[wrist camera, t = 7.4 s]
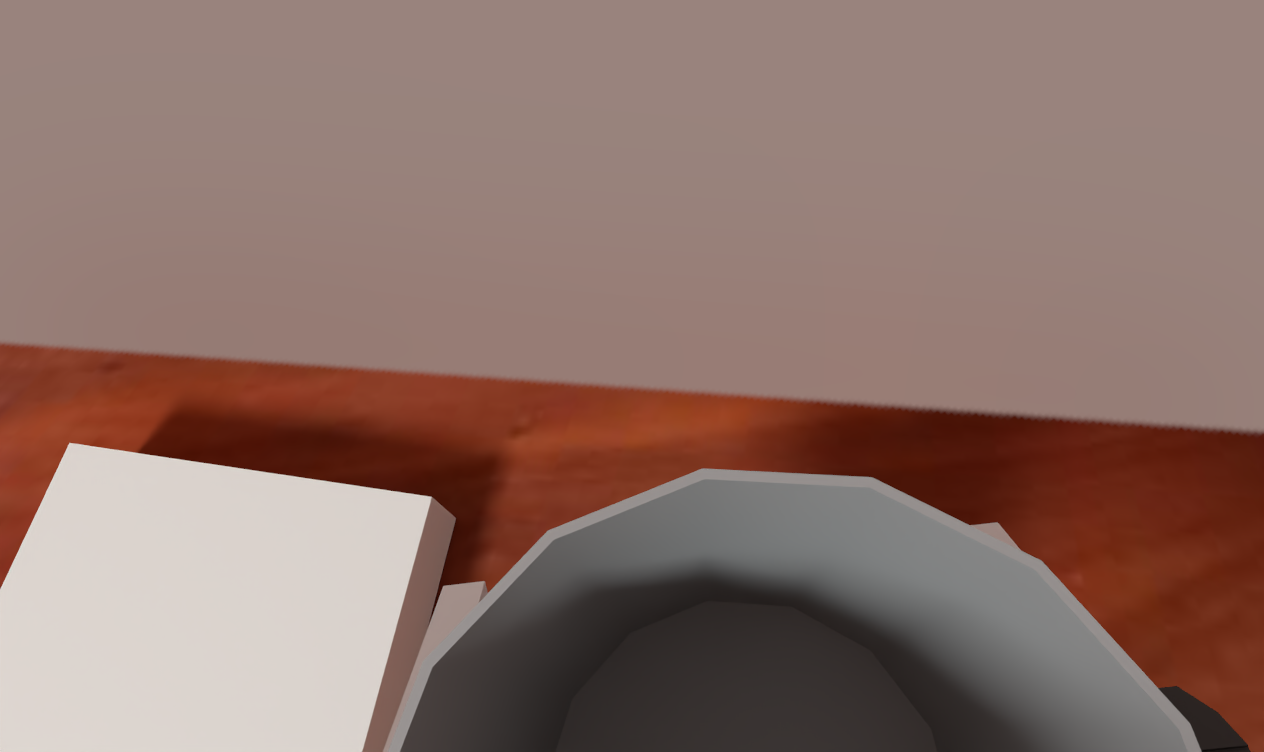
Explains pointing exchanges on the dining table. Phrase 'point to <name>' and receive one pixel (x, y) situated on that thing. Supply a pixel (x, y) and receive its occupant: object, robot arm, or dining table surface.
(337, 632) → the raised board
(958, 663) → the cup
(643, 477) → the dining table surface
